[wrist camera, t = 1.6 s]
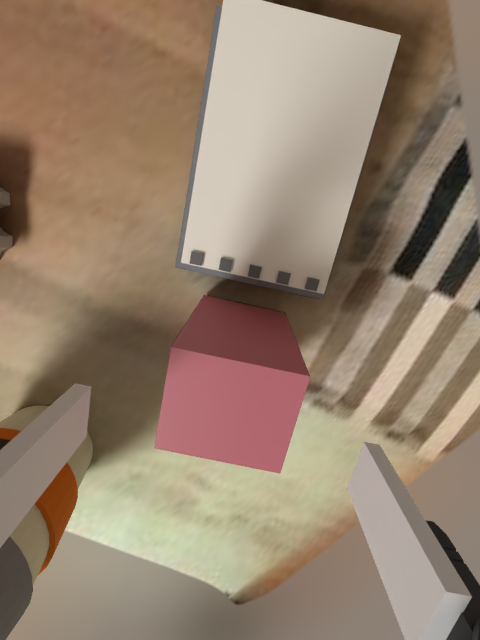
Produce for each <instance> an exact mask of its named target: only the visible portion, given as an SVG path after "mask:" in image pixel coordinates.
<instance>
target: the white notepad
mask: <svg viewBox="0 0 480 640" xmlns="http://www.w3.org/2000/svg"><path fill="white" fill-rule="evenodd" d="M400 37H401V35H398V34H394V33H390V32H386V31H382V30H378V29H374V28H370V27H366V26H362V25H358V24H354V23H350V22H346V21H342V20H338V19H334V18H330V17H326V16H322V15H318V14H314V13H310V12H306V11H302V10H298V9H294V8H290V7H286V6H282V5H278V4H274V3H270V2H266V1H262V0H223V5H222V7H219V6H216V13H215V19H214V25H213V32H212V38H211V44H210V51H209V57H208V64H207V70H206V76H205V83H204V89H203V95H202V102H201V108H200V114H199V121H198V127H197V133H196V140H195V146H194V152H193V159H192V165H191V171H190V178H189V184H188V190H187V197H186V203H185V209H184V216H183V222H182V229H181V235H180V241H179V248H178V254H177V260H176V268H181V269H185V270H190V271H195V272H199V273H204V274H208V275H213V276H217V277H222V278H226V279H231V280H236V281H240V282H245V283H249V284H254V285H258V286H263V287H267V288H272V289H277V290H281V291H286V292H290V293H295V294H299V295H304V296H308V297H313V298H318V299H322V300H323V298H324V294H325V291H326V288H327V284H328V281H329V278H330V274H331V271H332V267H333V264H334V261H335V257H336V254H337V251H338V247H339V244H340V241H341V237H342V234H343V231H344V227H345V224H346V221H347V217H348V214H349V210H350V207H351V204H352V200H353V197H354V194H355V190H356V187H357V184H358V180H359V177H360V174H361V170H362V167H363V163H364V160H365V157H366V153H367V150H368V147H369V143H370V140H371V137H372V133H373V130H374V127H375V123H376V120H377V117H378V113H379V110H380V106H381V103H382V100H383V96H384V93H385V90H386V86H387V83H388V80H389V76H390V73H391V70H392V66H393V63H394V59H395V56H396V53H397V47H398V44H399V41H400Z"/></svg>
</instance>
